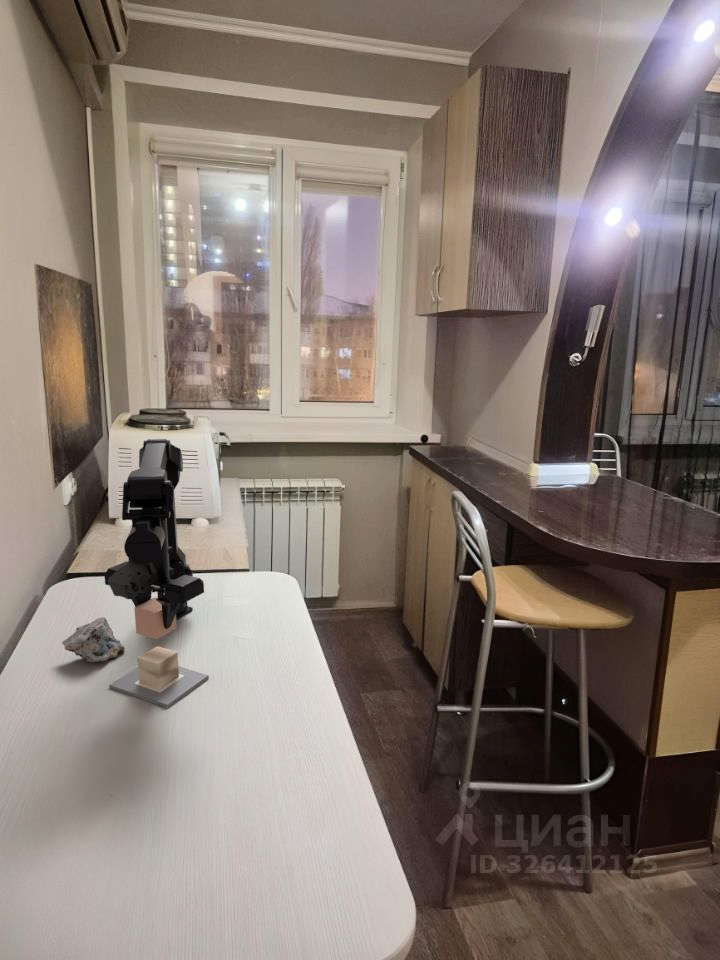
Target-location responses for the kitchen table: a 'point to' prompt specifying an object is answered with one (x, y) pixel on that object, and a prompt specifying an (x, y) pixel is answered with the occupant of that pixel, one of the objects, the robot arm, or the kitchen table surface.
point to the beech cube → (158, 667)
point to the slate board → (166, 693)
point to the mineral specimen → (94, 642)
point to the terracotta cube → (151, 619)
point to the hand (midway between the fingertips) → (156, 625)
